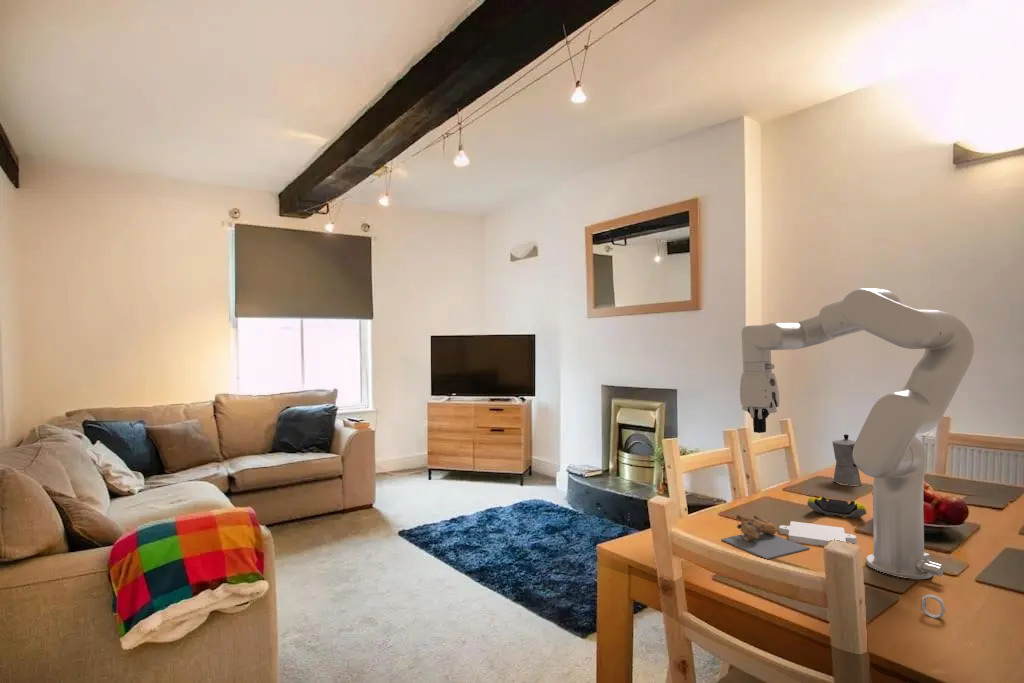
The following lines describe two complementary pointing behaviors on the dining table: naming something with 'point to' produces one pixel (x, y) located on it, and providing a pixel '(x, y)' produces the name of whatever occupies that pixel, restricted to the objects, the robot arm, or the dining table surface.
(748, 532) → the lion figurine
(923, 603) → the grey ring
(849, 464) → the coffeepot
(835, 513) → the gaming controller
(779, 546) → the mat
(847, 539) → the mounting plate
